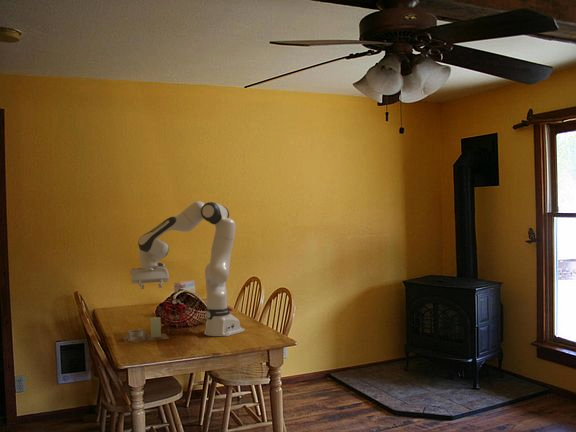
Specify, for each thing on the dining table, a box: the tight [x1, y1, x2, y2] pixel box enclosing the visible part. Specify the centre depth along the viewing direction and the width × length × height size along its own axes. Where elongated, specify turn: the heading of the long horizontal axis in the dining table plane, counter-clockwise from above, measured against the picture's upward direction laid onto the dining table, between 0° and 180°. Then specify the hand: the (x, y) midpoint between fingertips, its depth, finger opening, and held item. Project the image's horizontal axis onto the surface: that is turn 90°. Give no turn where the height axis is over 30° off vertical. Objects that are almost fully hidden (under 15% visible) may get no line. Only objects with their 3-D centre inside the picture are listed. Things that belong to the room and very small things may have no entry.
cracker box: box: [173, 279, 196, 295], centre depth 349 cm, size 14×6×21 cm, turn 149°
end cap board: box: [122, 328, 170, 344], centre depth 282 cm, size 22×12×6 cm, turn 112°
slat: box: [149, 316, 162, 338], centre depth 284 cm, size 5×2×10 cm, turn 112°
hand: (151, 287), depth 294 cm, fingers open, 8 cm apart
